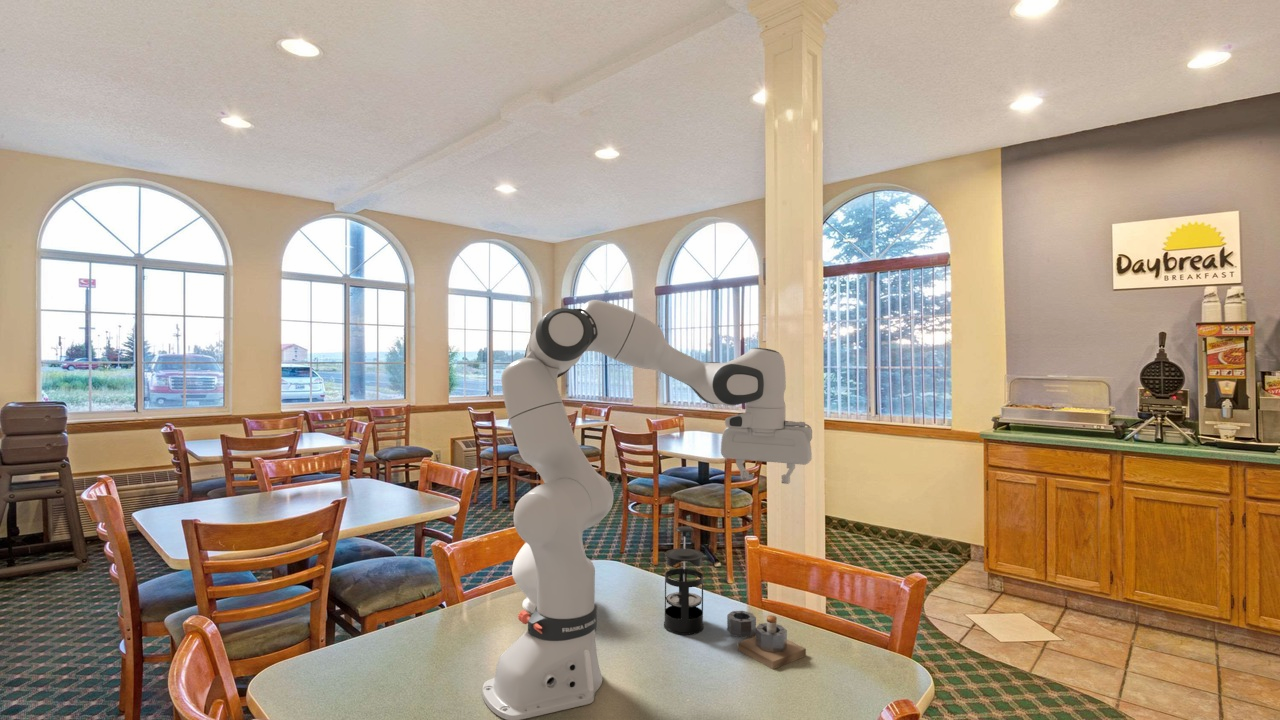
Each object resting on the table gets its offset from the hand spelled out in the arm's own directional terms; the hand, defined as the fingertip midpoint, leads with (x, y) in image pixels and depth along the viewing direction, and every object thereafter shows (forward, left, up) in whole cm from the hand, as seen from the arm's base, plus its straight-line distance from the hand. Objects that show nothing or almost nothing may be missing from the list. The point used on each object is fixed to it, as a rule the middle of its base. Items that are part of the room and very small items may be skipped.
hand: (765, 481), depth 135 cm
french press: (-11, +15, -35) cm, 40 cm away
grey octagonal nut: (-4, -6, -34) cm, 34 cm away
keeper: (-4, -6, -35) cm, 36 cm away
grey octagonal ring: (-2, +5, -35) cm, 36 cm away
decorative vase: (-32, +44, -35) cm, 65 cm away
